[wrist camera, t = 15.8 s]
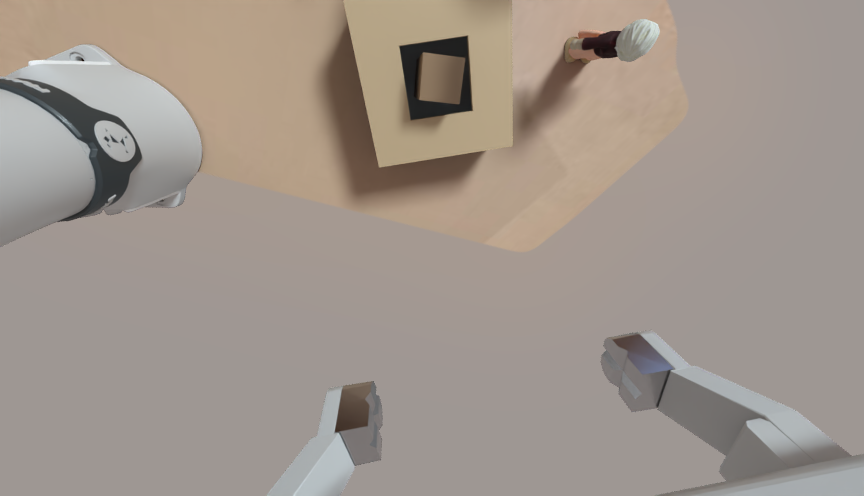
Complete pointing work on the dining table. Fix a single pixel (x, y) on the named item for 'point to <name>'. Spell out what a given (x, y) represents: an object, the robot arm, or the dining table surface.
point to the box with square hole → (396, 67)
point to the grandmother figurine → (613, 43)
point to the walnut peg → (439, 78)
